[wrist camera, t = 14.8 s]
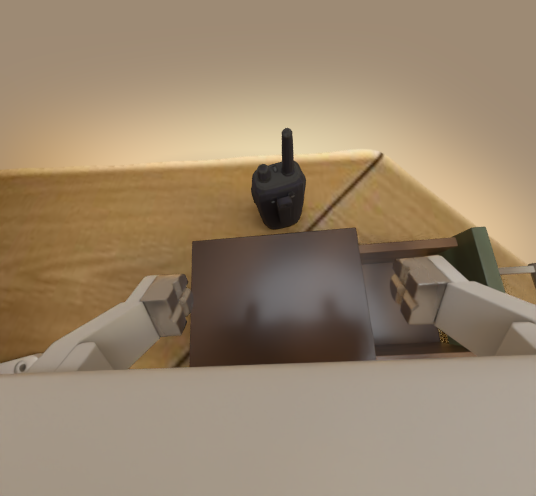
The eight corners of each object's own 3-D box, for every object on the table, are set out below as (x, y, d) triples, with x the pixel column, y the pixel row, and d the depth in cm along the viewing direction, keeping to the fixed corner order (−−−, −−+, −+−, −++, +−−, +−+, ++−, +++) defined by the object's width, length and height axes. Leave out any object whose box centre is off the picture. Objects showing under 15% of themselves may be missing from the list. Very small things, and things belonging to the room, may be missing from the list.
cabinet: (337, 252, 30) (356, 227, 21) (352, 364, 27) (381, 389, 18) (220, 261, 31) (192, 241, 22) (221, 369, 28) (188, 396, 19)
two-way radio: (298, 199, 32) (303, 108, 18) (308, 230, 31) (323, 159, 17) (258, 211, 32) (230, 130, 18) (266, 242, 31) (244, 182, 17)
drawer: (489, 243, 28) (556, 220, 21) (522, 352, 25) (613, 368, 18) (318, 256, 29) (326, 239, 22) (330, 360, 26) (344, 378, 19)
